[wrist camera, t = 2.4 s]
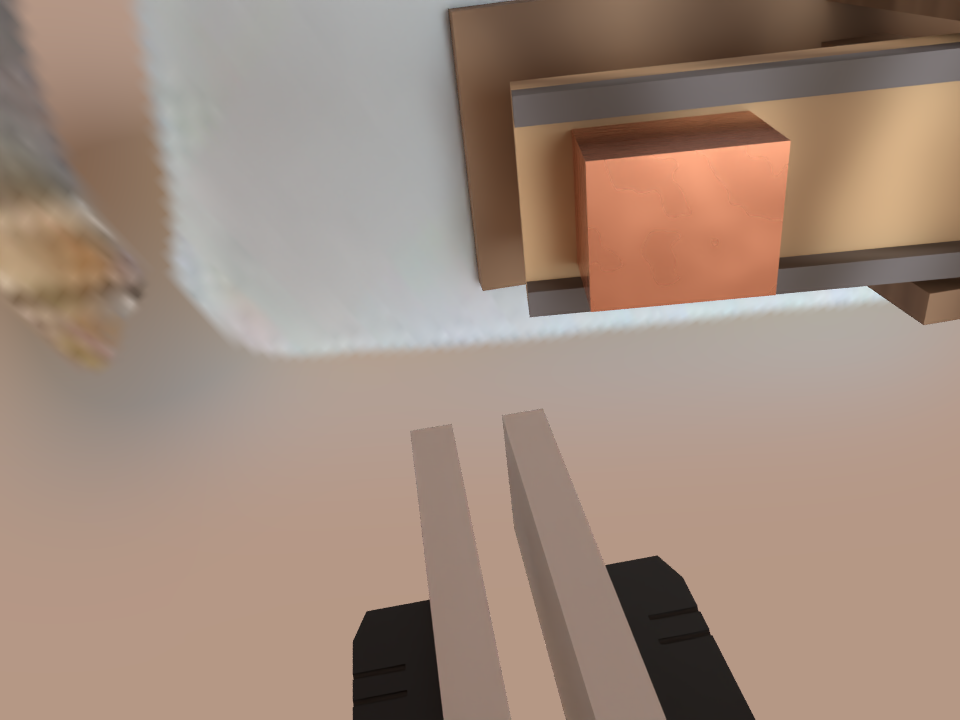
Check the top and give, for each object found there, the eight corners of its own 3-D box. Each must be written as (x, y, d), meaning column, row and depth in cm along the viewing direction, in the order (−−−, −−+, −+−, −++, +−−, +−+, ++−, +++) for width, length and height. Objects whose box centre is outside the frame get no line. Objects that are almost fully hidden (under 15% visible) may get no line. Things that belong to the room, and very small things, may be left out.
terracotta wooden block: (577, 264, 29) (590, 311, 25) (571, 129, 26) (585, 161, 23) (739, 248, 29) (776, 294, 25) (749, 110, 26) (790, 140, 23)
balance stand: (479, 280, 37) (520, 394, 28) (448, 9, 31) (488, 41, 22) (1132, 179, 40) (1364, 253, 30) (1219, -91, 34) (1540, -98, 25)
